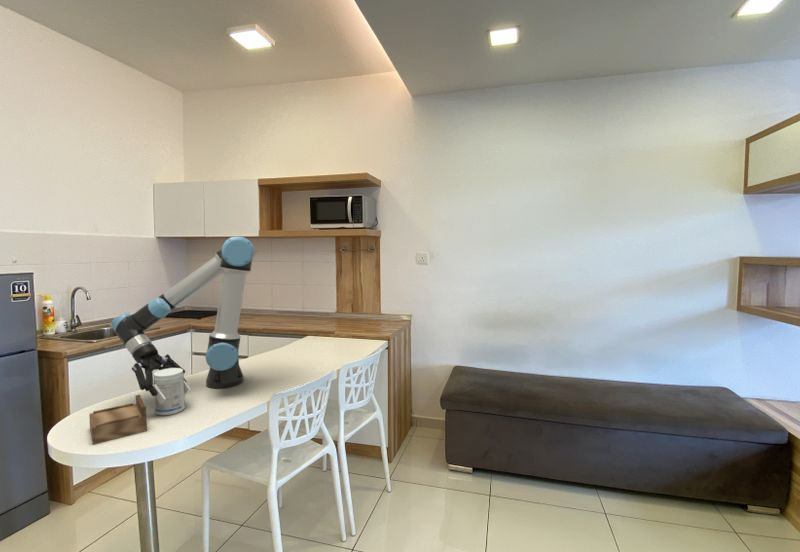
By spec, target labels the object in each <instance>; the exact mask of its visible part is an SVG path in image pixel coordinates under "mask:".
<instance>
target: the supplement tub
mask: <svg viewBox="0 0 800 552" xmlns="http://www.w3.org/2000/svg"><path fill="white" fill-rule="evenodd" d="M181 368H182V367H181ZM181 368H168V369H163V370H159V369H158V370H156V371H155V372H154V373H153V386H154V385H155V384H156V385H157V387H158V388H159V389H160V391H161V392H162V393H163V395H164V396H165V398H166V400H165V401H164V402H163V403H162V404H160V403H159V401H158V400H157V399H156V397H155V396H153V397H154V409H155V410H154V411H155V414H156V415H159V416H171V415H175V414H178V413H180V412H182V411H183V410H184V409H185V407H186V399H185V397H186V396H185V395H186V394H185V393H184V378H185V376H184V374H185V373H183V369H184V368H183V369H181Z"/></svg>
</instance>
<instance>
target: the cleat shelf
mask: <svg viewBox="0 0 800 552" xmlns="http://www.w3.org/2000/svg"><path fill="white" fill-rule="evenodd" d="M88 416H89V429H90V435H91V443H92V445H97V444H99V443H104V442H107V441H112V440H115V439H120V438H124V437H129V436H132V435H135V434H140V433H144V432H147V431H148V421H147V419H148V418H147V417H148V416H147V405H146V404H145V402H144V400H143V398H142V397H141V394H136V395H135V403H133V402H131V403H127V404H121V405H116V406H113V407H108V408H104V409H103V408H101V409H98V410H93V411H92V412H90V413H89V415H88Z"/></svg>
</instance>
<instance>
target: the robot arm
mask: <svg viewBox="0 0 800 552" xmlns="http://www.w3.org/2000/svg"><path fill="white" fill-rule="evenodd" d="M254 254H255V248H254V244H253V243H252V242H251V241H250V240H249V239H248V238H246V237H243V236H240V235H239V236H237V235H235V236H231V237H229V238H228V239H226V240H225V241H224V243H223V245H222V247H221V249H220V250H218V251H217V252H215V255H214V257H212V258H211V259H210V260H208V261H207V262H205V263H204V264H202V265H201V266H200V267H198V268H197V269H196V270H194V271H193V272H191V273H190V274H189V275H187V276H186V277H184V278H183V279H182V280H180V281H179V282H178V283H176V284H175V285H173V286H172V287H171V288H169V289H168V290H166V291H165V292H164V293H163V294H161V295H159V296H158V297H155V298H154V299H152V300H151V301H149V302H148V303H147V304H145V305H144V306H143V307H141V308H140V309H138V310H137V311H136V312H134V313H132V314H131V313H129V312H126V313H121V314H120V315H117V316H116V317H115V318H114V317H113V319H112V321H111V323H110V326H111V328H112V330H113V331H114V334H115V335H116V336H117V337H118V338H119V340H120V341H121V342H122V344H123V346H124V347H125V348H126V350H127V351H128V352H129V354H130V355H131V356H132V358H133V360H134V361H135V363H134V364H133V366H132V367H131V371H132V372H133V373H135V374H134V375H135V377H136V380H137V383H138V387H139V389H140V390H141V391H145V392H149V393H150V395H151V396H153V397H154V396H155V397H156V399H157V400H158V401H159V403H160V404H162V403H163V402H164V401H165V400H166V398H165V396H164V395H163V393H162V392H161V391H160V389H159V388H158V387H157V385H156V384H155V385H154V373H153V371H155V370H156V371H159V370H163V369H168V368H181V369H183V373H184V374H185V373H186V370H185V369H184V368H182V366H180V365H179V364H178V363H177V362H176V361H174V359H172V358H171V356H170V354H166V355H164V356H161V355H160V354H159V352H158V349H157V347H156V346H155V345H154V344H153V342H152V341H151V339H150V337H148V335H147V334H146V333H145V331H147V330H148V329H150V328H151V327H152V326H153V325H155V324H156V323H157V322H159V321H160V320H162V319H163V318H165V317H166V316H167V315H169V314H170V313H171V312H172V311H174V309H177V308H178V307H179V306H180V305H182V304H183V303H184V302H185V301H188V299H190V298H191V297H193V295H195V294H197V293H198V292H200V291H201V290H202V289H203V288H205V287H206V286H207V285H209V284H210V283H212V282H214V280H216V279H218V278H219V277H220V276H221V275H222V279H221V287H220V292H219V298H218V304H217V305H218V307H217V312H216V320H215V323H214V324H215V325H214V330H213V331H212V332H210V333H209V335H208V336H209V337H208V344H207V350H206V353H205V356H204V357H205V361H206V364H207V365H208V366H209V369H208V373H207V377H206V380H205V384H206V385H205V386H206V387H208V388H210V389H225V388H232V387H235V386H238V385H240V384H242V383H243V382H244V374H243V371H242V369H241V366H240V360H239V359H240V358H239V354H240V353H239V349H240V343H241V335H240V334H239V332H238V330H239V329H238V328H239V322H240V317H241V310H242V304H243V297H244V296H243V295H244V290H245V283H246V276H247V275H248V274H250V273H251V271H252V264H253V258H254ZM143 369H144V370H143ZM190 390H191V388H190V386H189V385H188V383H187V379H185V377H184V393H185V395H186V394H188V393H189V391H190ZM155 397H154V398H155Z"/></svg>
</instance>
